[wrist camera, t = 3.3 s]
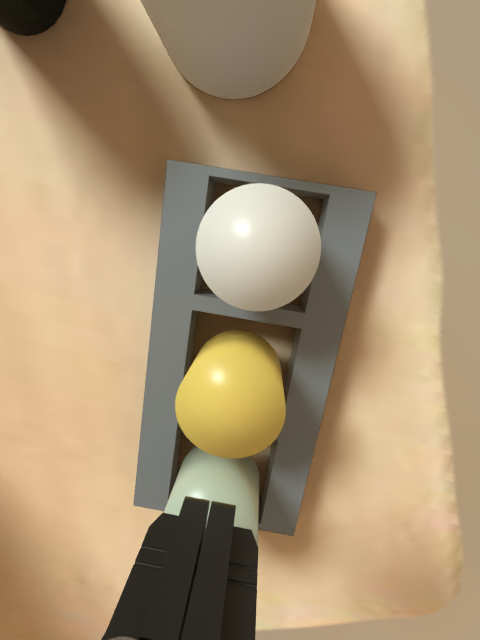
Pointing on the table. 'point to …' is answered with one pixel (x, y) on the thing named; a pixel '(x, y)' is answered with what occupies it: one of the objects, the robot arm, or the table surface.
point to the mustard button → (232, 396)
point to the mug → (233, 41)
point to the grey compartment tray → (309, 319)
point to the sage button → (219, 485)
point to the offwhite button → (258, 247)
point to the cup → (29, 15)
